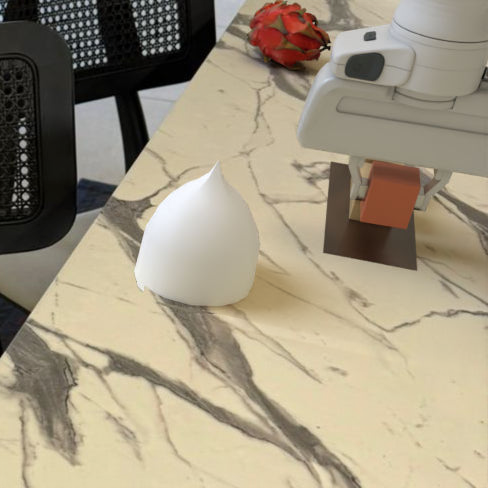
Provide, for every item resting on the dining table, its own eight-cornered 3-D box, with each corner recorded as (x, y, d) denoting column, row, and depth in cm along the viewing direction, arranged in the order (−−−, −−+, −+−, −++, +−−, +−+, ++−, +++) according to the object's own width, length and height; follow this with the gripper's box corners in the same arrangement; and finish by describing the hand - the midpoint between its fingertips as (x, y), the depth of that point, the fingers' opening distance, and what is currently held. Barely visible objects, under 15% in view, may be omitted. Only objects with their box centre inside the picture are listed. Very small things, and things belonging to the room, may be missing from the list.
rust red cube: (405, 209, 102) (419, 168, 99) (406, 229, 99) (421, 187, 96) (360, 202, 103) (373, 160, 100) (360, 221, 100) (373, 179, 97)
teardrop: (251, 322, 91) (285, 197, 83) (128, 303, 92) (150, 178, 84) (252, 261, 99) (282, 142, 91) (138, 244, 100) (159, 125, 92)
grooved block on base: (409, 182, 115) (425, 137, 112) (414, 277, 99) (433, 229, 96) (328, 167, 116) (341, 123, 113) (320, 259, 100) (335, 211, 97)
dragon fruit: (236, 59, 145) (311, 95, 142) (227, 36, 137) (306, 73, 134) (269, 3, 143) (345, 38, 140) (262, -24, 135) (342, 12, 132)
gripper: (551, 64, 91) (494, 207, 101) (320, 31, 95) (285, 172, 104) (561, 89, 87) (500, 236, 96) (317, 54, 90) (281, 199, 99)
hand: (386, 203), depth 100 cm, fingers closed on rust red cube, 4 cm apart
